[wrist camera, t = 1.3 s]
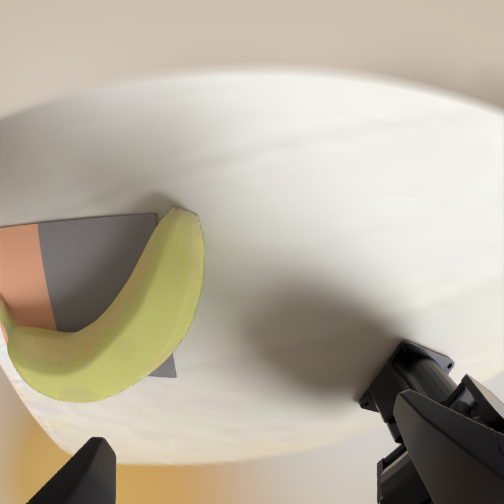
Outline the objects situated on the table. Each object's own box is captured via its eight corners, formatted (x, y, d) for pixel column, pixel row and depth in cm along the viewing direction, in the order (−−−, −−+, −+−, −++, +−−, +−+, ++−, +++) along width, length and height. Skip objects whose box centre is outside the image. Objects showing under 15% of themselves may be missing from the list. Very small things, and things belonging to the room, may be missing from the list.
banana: (184, 452, 14) (-21, 370, 17) (210, 412, 19) (19, 359, 22) (186, 195, 15) (-25, 211, 17) (215, 214, 20) (18, 219, 23)
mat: (156, 213, 19) (155, 213, 19) (176, 376, 21) (176, 377, 21) (38, 223, 19) (37, 223, 19) (68, 364, 22) (67, 365, 21)
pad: (38, 223, 19) (37, 223, 19) (68, 364, 22) (67, 365, 21) (-18, 230, 19) (-19, 230, 19) (10, 351, 22) (9, 352, 22)
